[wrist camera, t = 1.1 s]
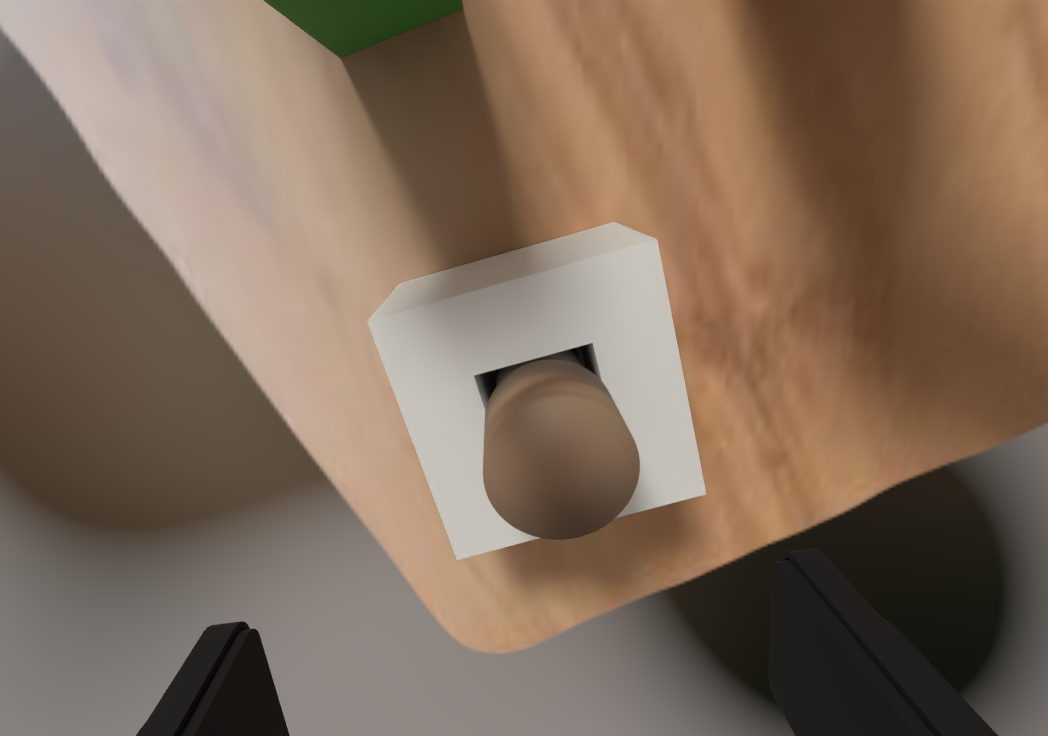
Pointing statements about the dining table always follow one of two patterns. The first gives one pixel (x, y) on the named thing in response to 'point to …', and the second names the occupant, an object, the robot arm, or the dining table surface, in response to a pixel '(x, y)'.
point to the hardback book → (360, 19)
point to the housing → (528, 333)
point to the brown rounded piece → (556, 449)
